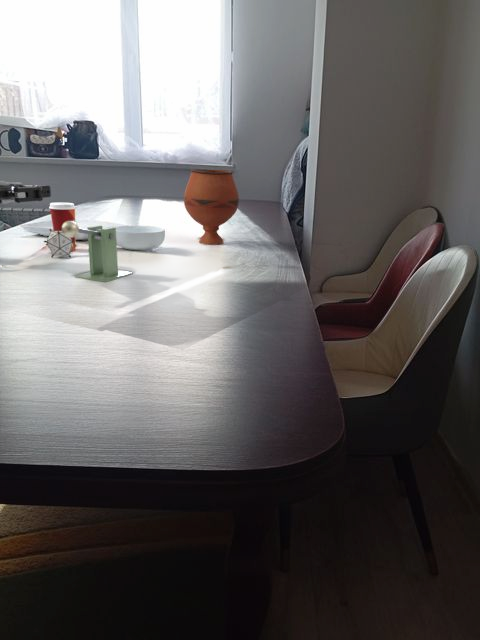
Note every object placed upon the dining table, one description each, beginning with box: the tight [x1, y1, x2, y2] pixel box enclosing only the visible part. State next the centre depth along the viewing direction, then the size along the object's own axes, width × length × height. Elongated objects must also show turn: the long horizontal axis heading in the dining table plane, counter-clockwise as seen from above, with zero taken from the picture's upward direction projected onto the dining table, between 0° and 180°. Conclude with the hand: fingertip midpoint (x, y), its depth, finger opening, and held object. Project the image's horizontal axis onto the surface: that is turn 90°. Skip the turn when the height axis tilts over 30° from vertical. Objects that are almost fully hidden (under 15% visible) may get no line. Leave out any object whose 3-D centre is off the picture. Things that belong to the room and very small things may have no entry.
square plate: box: [19, 218, 131, 241], centre depth 186 cm, size 27×27×4 cm
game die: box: [43, 228, 77, 258], centre depth 149 cm, size 9×8×10 cm
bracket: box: [74, 225, 133, 283], centre depth 126 cm, size 11×9×13 cm
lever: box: [62, 221, 102, 240], centre depth 119 cm, size 14×4×4 cm, turn 158°
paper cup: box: [48, 201, 77, 252], centre depth 158 cm, size 8×8×14 cm
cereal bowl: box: [115, 225, 166, 253], centre depth 164 cm, size 17×17×7 cm
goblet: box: [183, 168, 240, 246], centre depth 182 cm, size 19×19×25 cm
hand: (32, 189), depth 103 cm, fingers open, 8 cm apart
